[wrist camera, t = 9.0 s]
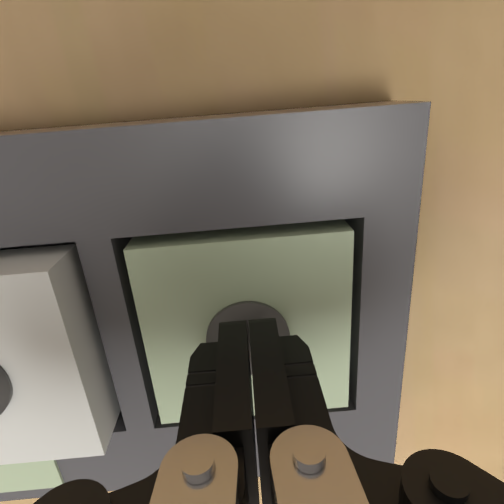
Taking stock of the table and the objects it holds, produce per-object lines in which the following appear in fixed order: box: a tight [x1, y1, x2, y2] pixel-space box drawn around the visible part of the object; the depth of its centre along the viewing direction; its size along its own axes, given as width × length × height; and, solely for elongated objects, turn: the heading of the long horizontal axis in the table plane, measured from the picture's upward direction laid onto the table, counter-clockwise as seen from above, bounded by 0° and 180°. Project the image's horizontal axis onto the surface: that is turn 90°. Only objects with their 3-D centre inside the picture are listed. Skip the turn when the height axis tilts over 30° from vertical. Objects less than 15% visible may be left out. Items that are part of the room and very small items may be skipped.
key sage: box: [123, 219, 354, 424], centre depth 12 cm, size 6×6×2 cm
